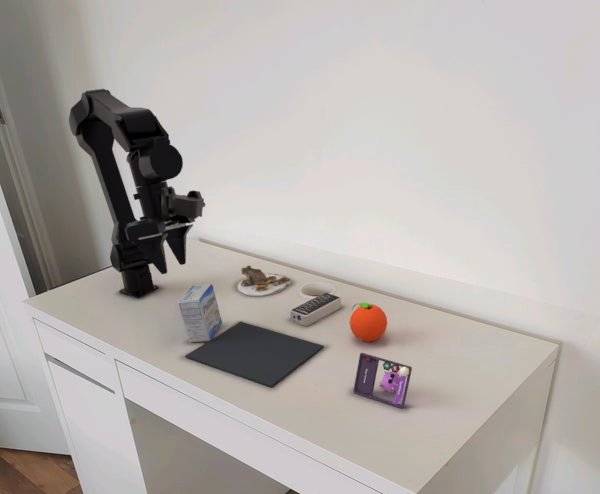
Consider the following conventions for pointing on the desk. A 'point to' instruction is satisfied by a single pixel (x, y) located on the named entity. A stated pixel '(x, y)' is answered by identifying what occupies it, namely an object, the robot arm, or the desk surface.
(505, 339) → the desk surface
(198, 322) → the medicine box
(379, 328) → the clementine
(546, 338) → the desk surface
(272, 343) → the mouse mat
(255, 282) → the frog figurine
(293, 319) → the multiport hub
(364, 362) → the game card
